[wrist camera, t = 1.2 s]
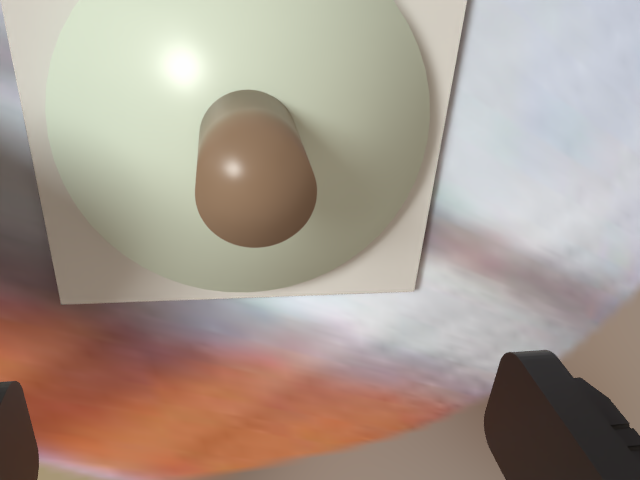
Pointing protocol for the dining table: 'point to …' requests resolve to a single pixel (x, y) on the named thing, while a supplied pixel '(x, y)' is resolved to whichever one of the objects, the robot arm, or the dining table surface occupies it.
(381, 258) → the mat
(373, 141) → the lid
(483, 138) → the dining table surface
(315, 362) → the dining table surface
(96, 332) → the dining table surface
